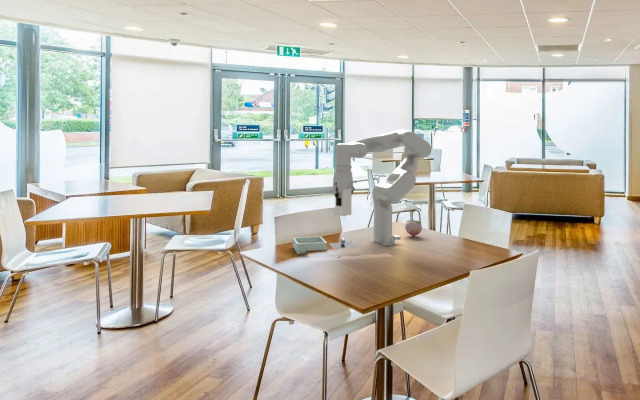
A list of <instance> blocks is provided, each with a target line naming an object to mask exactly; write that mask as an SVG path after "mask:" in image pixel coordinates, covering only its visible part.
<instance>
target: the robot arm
mask: <svg viewBox="0 0 640 400" xmlns="http://www.w3.org/2000/svg"><path fill="white" fill-rule="evenodd" d="M400 147H404V148H403V152H404V153H403V154H404V157H403V160H402V162H401V163H399V165H398V166H397V167H396V168H395V169H394V170H393V171H392V172H391V173H390V174H389V175H388V178H387V181H388V183H385V182H380V183H377V184H376V185H374V187H373V189H372V192H371V193H372V200H373V237H372V238H373V242H374V243H379V244H380V245H381V246H384V247H387V246H388V247H389V246H394V245H395V244H396V243H395V241H396V240H397V241H398V240H401V239H402V237H401V235H394V234H392V233H393V206H392V204H393V205H394V204H397V203H399V202H401V200H403V199H404V197H406V195H407V194H409V193H410V192H411V191H412V190H413V188H414V187H415V185H416V181H417V180H416V175H415V173H416V171H417V170H418V167H419V163H418V162H419V159H424V158H428V157H429V156H430V155H431V153H432V146H431V144H430V143H429V142H428V141H427V140H426V139H424V138H423V137H421V136H420V135H418V134H417V133H416V132H413V130H408V129H405V130H404V129H399V130H398V129H397V130H393V131H389V132H386V133H382V134H379V135H375V136H371V137H366V138H361V139H356V140H353V141H350V142H348V143H344V142H343V143H337V144H336V145H335V171H334V173H333V177H332V190H331V193H332V194H333V196H334V197H335V198H336V205H337V206H341V198H340V197H341V192H342V190H343V189H351V197H352V196H353V193H354V192H355V190H356V188H355V187H354V180H353V178H354V177H353V172H352V159H353V158H354V159H362V158H364V157H366V156H367V154H369V153H370V154H371V153H382V152H383V153H384V152H387V151H389V150H392V149H393V150H394V149H397V148H400ZM418 158H419V159H418ZM338 193H339V195H338Z"/></svg>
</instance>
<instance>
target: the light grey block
mask: <svg viewBox="0 0 640 400" xmlns="http://www.w3.org/2000/svg"><path fill="white" fill-rule="evenodd" d="M338 195H339V193H338ZM340 198H341V206H337V205H336V198H335V202H334V203H335V207H334V208H335V210H334V211H335V212H334V213H335V216H341V217H345V216H351V215H352V196H351V189H343V190H342V192H341V197H340Z"/></svg>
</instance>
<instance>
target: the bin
mask: <svg viewBox="0 0 640 400" xmlns="http://www.w3.org/2000/svg"><path fill="white" fill-rule="evenodd" d="M292 248H294V249H293V250H294V251H295V252H296V254H297V255H302V254H303V255H305V254H306V255H307V254H309V253H308V251H310V252H311V251H325V250H328V242H327V241H326V240H325V239H324V238H323V237H322V235H321V236H320V235H319V236H318V235H317V236H301V237H299V236H298V237H296V236H295V237H292Z"/></svg>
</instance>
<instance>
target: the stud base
mask: <svg viewBox="0 0 640 400" xmlns="http://www.w3.org/2000/svg"><path fill="white" fill-rule="evenodd" d="M328 245H330V246H331V248H332V249H334V250H336V249H354V248H355V249H356V248H357V249H358V246H356V244H354V243H353V242H351V241H349V242H346V239H345V238H344V237H343V238H340V242H330V243H329V242H328Z"/></svg>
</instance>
